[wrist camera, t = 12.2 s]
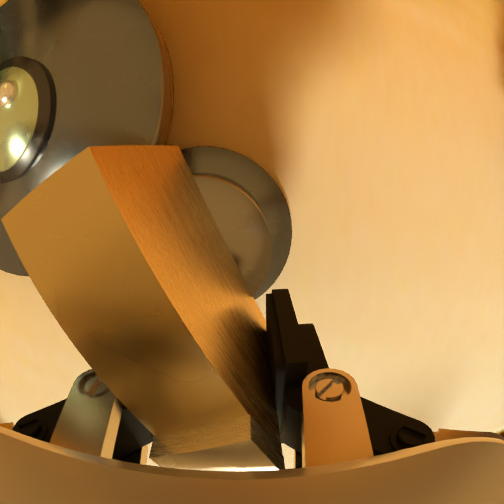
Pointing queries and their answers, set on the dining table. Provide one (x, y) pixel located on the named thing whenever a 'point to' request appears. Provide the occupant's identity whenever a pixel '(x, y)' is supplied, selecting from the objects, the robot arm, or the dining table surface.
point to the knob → (161, 297)
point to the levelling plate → (98, 104)
